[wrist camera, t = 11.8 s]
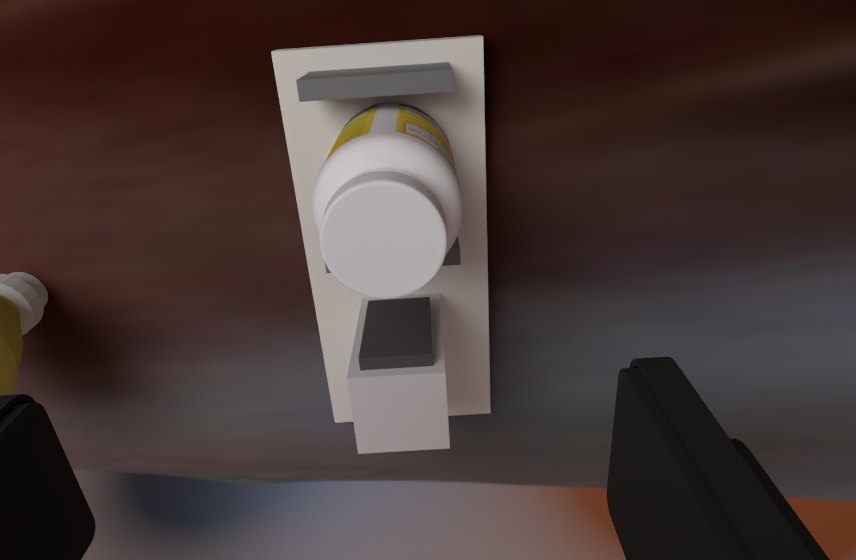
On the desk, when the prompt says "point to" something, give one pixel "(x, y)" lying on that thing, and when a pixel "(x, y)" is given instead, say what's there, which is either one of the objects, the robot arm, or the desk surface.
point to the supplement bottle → (387, 201)
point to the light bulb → (17, 321)
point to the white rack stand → (463, 265)
